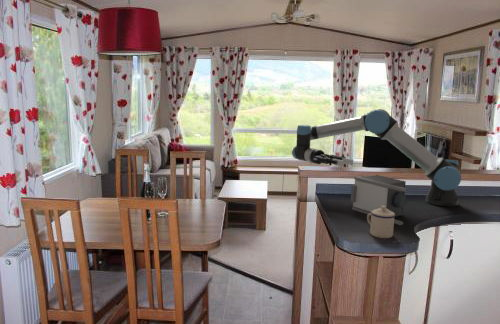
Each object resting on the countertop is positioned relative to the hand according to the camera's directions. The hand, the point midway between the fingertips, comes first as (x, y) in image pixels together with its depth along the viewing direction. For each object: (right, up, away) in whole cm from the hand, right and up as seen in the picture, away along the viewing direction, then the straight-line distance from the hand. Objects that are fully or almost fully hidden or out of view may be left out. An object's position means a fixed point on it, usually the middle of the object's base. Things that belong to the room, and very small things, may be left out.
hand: (347, 162), depth 192 cm
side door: (+7, -22, -8) cm, 25 cm away
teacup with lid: (+4, -28, -33) cm, 44 cm away
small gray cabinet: (+15, -24, -8) cm, 30 cm away
